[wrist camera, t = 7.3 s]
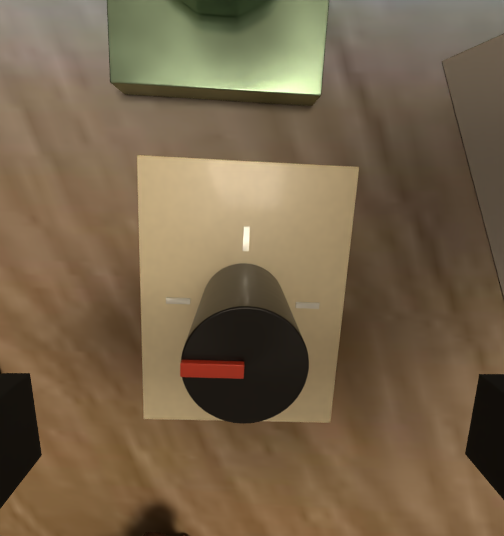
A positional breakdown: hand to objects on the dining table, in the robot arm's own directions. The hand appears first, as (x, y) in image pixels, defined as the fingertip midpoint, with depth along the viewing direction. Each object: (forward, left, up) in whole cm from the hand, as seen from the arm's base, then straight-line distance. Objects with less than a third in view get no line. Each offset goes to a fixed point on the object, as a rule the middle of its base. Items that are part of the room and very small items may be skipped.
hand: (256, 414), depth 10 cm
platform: (-7, -21, -13) cm, 25 cm away
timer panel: (0, 0, -13) cm, 13 cm away
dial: (0, 0, -10) cm, 10 cm away
